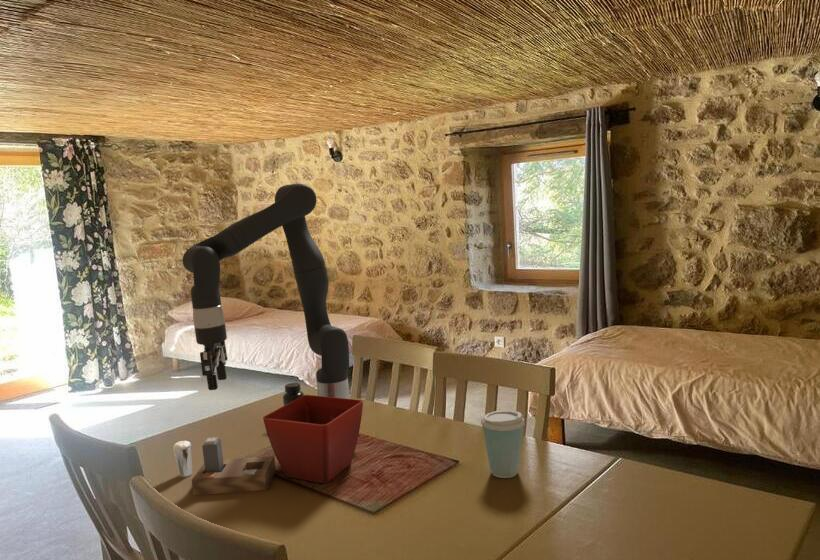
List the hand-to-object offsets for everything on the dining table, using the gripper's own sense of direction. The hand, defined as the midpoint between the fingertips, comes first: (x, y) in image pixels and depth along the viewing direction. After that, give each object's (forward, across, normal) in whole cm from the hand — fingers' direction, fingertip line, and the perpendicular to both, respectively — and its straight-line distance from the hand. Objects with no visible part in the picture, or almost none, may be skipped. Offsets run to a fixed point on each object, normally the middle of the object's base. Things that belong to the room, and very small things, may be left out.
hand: (218, 384), depth 158 cm
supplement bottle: (+25, +36, -12) cm, 45 cm away
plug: (+24, -7, +2) cm, 25 cm away
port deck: (+24, -7, -3) cm, 25 cm away
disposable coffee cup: (+26, -14, -71) cm, 77 cm away
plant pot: (+25, -4, -24) cm, 35 cm away
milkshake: (+24, 0, +11) cm, 27 cm away
